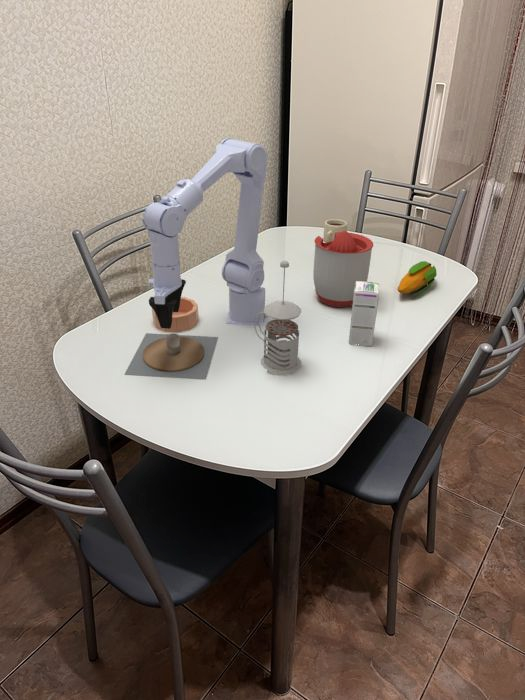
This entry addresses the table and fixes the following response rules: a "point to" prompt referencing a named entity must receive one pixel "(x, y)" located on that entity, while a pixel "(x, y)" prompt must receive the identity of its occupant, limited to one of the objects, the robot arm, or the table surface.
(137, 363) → the mat
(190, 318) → the bowl
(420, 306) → the table surface
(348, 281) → the citrus juicer
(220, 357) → the table surface
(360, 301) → the syrup box
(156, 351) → the lid
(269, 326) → the french press
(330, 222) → the character mug
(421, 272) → the corn
